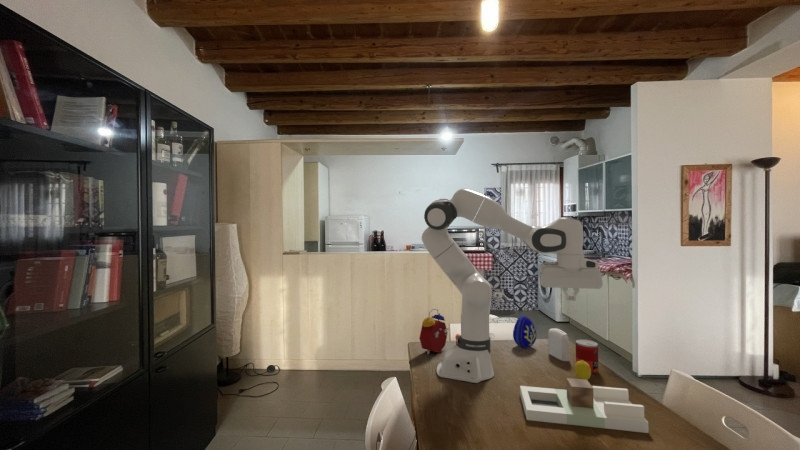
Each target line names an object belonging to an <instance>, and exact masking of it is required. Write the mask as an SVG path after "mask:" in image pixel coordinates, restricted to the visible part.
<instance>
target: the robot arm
mask: <svg viewBox="0 0 800 450" xmlns="http://www.w3.org/2000/svg"><path fill="white" fill-rule="evenodd" d="M423 218H424V222H425V223H426V225H427V227H426V228H425V229H424V231H423V232H422V233H421V241H422V243H423V245H424V247H425V250H426V251H427V252H428V253H429V255H430V256H431V257H432V258H433V260H434V262H435V263H436V264H437V265H438V266H439V268H440V269H441V270H442V272H444V274H445V275H446V277H448V279H449V280H450V281H451V282H452V284H453V285H454V286H455V288H456V289H457V290H458V291H459V293H461V311H460V312H461V313H460V334H459V333H457V334H456V335H455V345H454V346H452V347H451V348H449V349H447V350H446V351H445V352H444V354H443V356H442V360H441V361H440V362H439V363H438V364H437V366H436V374H437V376H438V377H440V378H445V379H450V380H456V381H463V382H468V383H474V384H478V383H480V382H482V381H486V380H490V379H492V378H493V377H494V376H495V372H494V368H493V364H492V363H493V362H492V358H491V353H492V352H491V350H492V340H491V337H490V315H491V306H492V305H491V304H492V296H493V290H492V286H491V284H490V282H489V281H488V280H487V279H485V277H483V276H482V275H481V273H480V272H479V271H478V270H477V268H476V267H475V266H474V265H473V263H472V262H471V260H470V258H469V257H468V256H467V255H466V254H465V252H464V251H463V250H462V249H461V248H460V246H459V245H458V243H456V241H455V240H454V239H453V237H452V236H451V235H450V233H449V231H448V230H449V226H450V225H451V224H452V223H453V222H454V221H455V220H456V219H457V218H464V219H466V220H469V221H470V222H473V223H474V224H477V225H479V226H481V227H486V228H489V229H495V230H498V231H499V230H500V231H503V232H505V233H507V234H510V235H512V236H514V237H515V238H518V240H519V239H520V240H521V241H522V242H523V243H524V244H525V245H526V246H527V247H528V248H529V249H530V250H531V251H533V252H535V253H542V254H549V253H552V252H556V261H544V262H542V263H540V265H539V273H540V277H539V278H540V279H539V284H540V285H541V286H542V287H543V288H551V289H552V288H557V289H558V288H559V289H560V288H561V291H562V292H563V293H564V295H565V301H576V300H577V298H576V297H577V295H578V294H579V291H580V289H591V290H592V289H593V290H597V289H598V290H600V289H601V288H602V287H603V276H602V272H601V270H600V269H599V267H600V264H599V262H597V261H596V260H591V259H590V258H586V257H585V253H584V250H583V246H584V229H583V224H582V221H580V220H579V219H576V218H572V217H566V216H565V217H563V216H562V217H559V218H557V219H556V220H554V221H553V222H550V223H548V224H544V225H543V226H533V225H529V224H527V223H524V222H522V221H521V220H518V219H517V218H514V217H512V216H511V215H510V214H508V213H507V212H506V210H505V209H504V208H503V206H502V205H501V204H500V203H498V201H496V200H494V199H492V198H491V197H489V196H486V195H484V194H482V193H480V192H477V191H474V190H470V189H466V188H460V189H458V190H456V192H454V194H453V196H452V197H451V199H447V198H440V199H437V200H434V201H432V202H431V203H430V204H429V205H428V206H427V207H426V209H425V210H424V214H423ZM569 289H573V293H572V294H568V291H569Z"/></svg>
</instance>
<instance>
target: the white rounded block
mask: <svg viewBox="0 0 800 450" xmlns="http://www.w3.org/2000/svg"><path fill="white" fill-rule="evenodd" d="M547 338H548V339H547V345H548V354H549V355H551V356H552V357H553V358H556V359H558V360H559V361H562V362H569V361H570V337H569V335H568V334H567V333H566V332H565V331H563V330H561V328H556V327H555V328H550V329H549V330H548V332H547Z"/></svg>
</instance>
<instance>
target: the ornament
mask: <svg viewBox="0 0 800 450" xmlns="http://www.w3.org/2000/svg"><path fill="white" fill-rule="evenodd" d="M512 330H513V331H512V339H513V341H514V343H515V344H516V345H517V346H519V347H520V348H522V349H529V348H531V347H533V345H534V344H535V342H536V341H537V330H536V327H535V325H534V322H533V321H532V320H531V319H530V318H529V317H528V316H526V315H520V316H519V317H517V320H516V322H515V323H514V327H513V329H512Z"/></svg>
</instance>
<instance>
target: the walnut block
mask: <svg viewBox="0 0 800 450" xmlns="http://www.w3.org/2000/svg"><path fill="white" fill-rule="evenodd" d="M588 380H589V379H588ZM588 380H584V379H578V378H571V377H566V390H567V398H568V400H569V402H570V404H571V406H573V407H583V408H594V400H593V387H592V386H593V385H592V384H591V383H590V382H589V381H588Z"/></svg>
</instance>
